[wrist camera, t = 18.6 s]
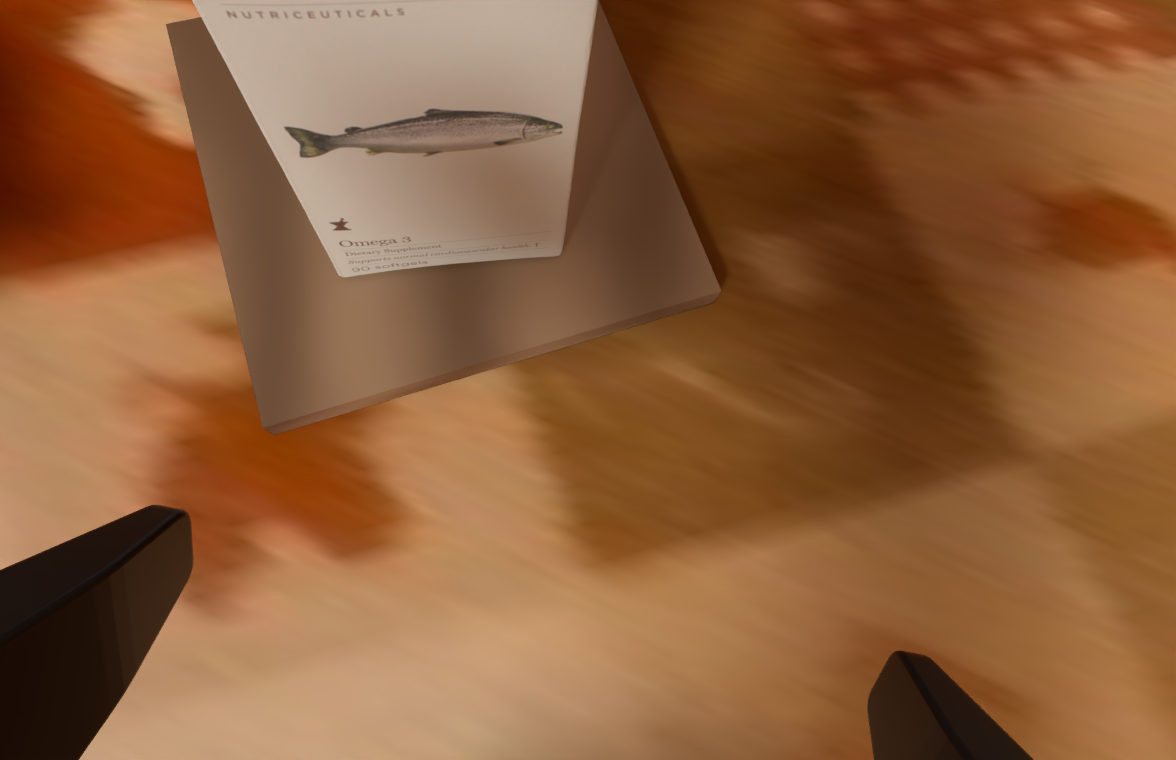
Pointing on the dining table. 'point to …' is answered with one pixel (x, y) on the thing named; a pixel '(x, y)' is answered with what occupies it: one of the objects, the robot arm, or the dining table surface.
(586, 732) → the dining table surface
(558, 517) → the dining table surface
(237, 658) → the dining table surface
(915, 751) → the robot arm
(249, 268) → the walnut board
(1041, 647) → the dining table surface
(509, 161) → the supplement box
